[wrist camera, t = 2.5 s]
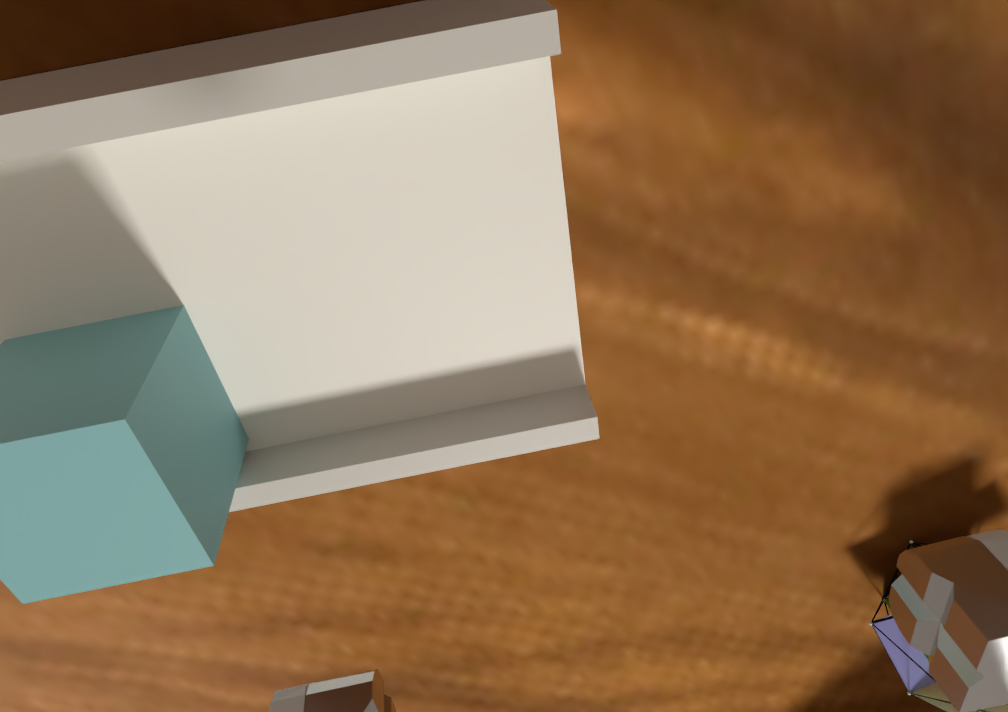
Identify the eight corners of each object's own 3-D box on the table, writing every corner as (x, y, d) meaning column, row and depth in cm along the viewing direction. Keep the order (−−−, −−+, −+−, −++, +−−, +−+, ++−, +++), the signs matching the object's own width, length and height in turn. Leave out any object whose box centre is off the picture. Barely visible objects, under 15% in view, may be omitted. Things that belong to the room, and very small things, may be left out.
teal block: (183, 304, 17) (125, 419, 14) (249, 439, 20) (214, 565, 16) (4, 339, 17) (-104, 463, 14) (93, 469, 20) (22, 603, 16)
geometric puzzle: (846, 579, 29) (967, 784, 26) (1013, 506, 27) (1159, 715, 25) (829, 566, 35) (925, 729, 33) (963, 507, 34) (1074, 672, 31)
